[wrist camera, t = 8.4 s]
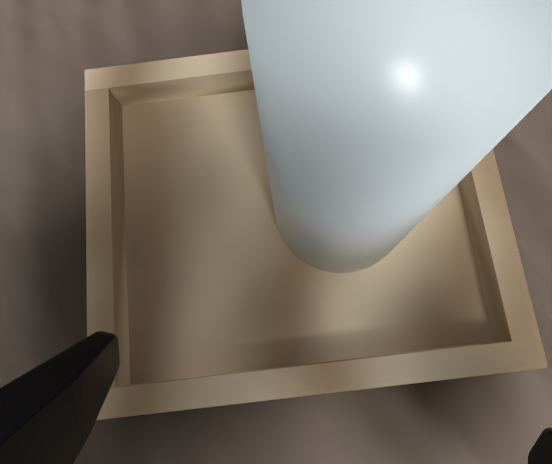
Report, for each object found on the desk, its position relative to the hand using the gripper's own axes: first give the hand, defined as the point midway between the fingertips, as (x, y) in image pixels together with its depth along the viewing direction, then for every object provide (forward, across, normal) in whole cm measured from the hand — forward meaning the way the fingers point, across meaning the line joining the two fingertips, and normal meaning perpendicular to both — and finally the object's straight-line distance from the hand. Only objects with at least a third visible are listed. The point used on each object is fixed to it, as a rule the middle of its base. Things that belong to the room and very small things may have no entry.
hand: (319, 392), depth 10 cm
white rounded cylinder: (+10, 0, +1) cm, 10 cm away
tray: (+11, +2, +2) cm, 11 cm away
